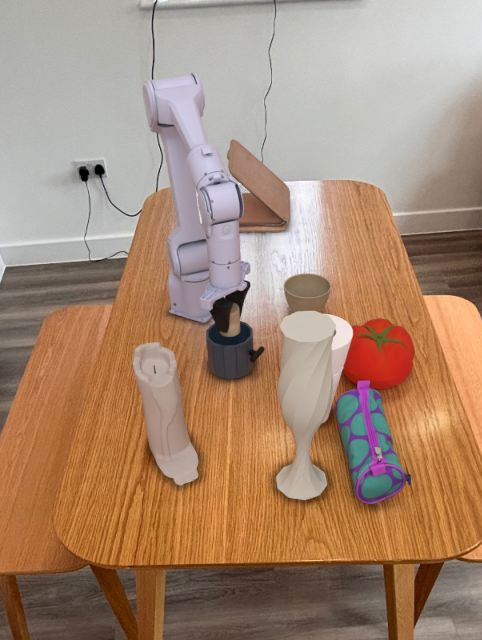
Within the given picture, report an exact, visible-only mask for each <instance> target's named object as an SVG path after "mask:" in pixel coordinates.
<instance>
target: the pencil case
mask: <svg viewBox="0 0 482 640" xmlns="http://www.w3.org/2000/svg"><path fill="white" fill-rule="evenodd" d="M369 386H370V381H358V385H357V388H355V389H349V390H347V391H344V392H343V393H341V395H340V396H339V397H338V398H337V399H336V401H335V405H334V414H335V417H336V420H337V426H338V430H339V434H340V437H341V440H342V445H343V448H344V451H345V455H346V459H347V462H348V468H349V473H350V477H351V480H352V483H353V491H354V495H355V497H356V498H357V499H358V500H359V501H360V502H361V503H364V504H367V505H375V504H378V503H380V502H381V503H382V502H384V501H386V500H389V499H390V498H392V497H394V496H396V495H397V494H399V493H400V492H401V491H402V490H403V489H404V487H405V485H406V483H407V485H408V486H409V487H411V484H412V474H411V473H409V472H407V473H406V472H405V470H404V468H403V466H402V464H401V462H400V459H399V456H398V454H397V453H396V451H395V448H394V443H393V438H392V437H393V436H392V432H391V429H390V427H389V423H388V420H387V416H386V413H385V410H384V406H383V397H382V395H381V393H380V392H379V391H378V389H372V388H370V387H369Z"/></svg>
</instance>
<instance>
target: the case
mask: <svg viewBox="0 0 482 640" xmlns="http://www.w3.org/2000/svg"><path fill="white" fill-rule="evenodd" d="M226 159H227V161H228V162H227V168H228V171H229V173H230V176H232V177H233V179H234V180H236V181H237V182H238V184H240V185H241V186H243V188H245V189H246V190H247V191H248V192H241V193H242V197H243V203H244V214H243V217H242V218H238V220H239V233H247V232H249V233H250V232H254V233H258V232H259V233H261V232H265V233H266V232H269V233H270V232H283V231H285V230H286V229H287V228H288V226H289V225H288V223H289V222H290V220H291V191H290V189H289V187H288V185H287V184H286V183H285V182H284V181H283V180H282V179H281V178H280V177H279V176H278V175H276V174H275V173H274V172H273V171H272V170H271V169H270V168H268V167H267V166H266V165H265V164H264V163H263V162H262V161H261V160H260V159H258V157H256V156H255V155H254V154H253V153H252V152H251V151H250V150H248V148H246V147H245V146H244V145H243V144H242V143H240V142H239V141H238V140H236V139H231V140H230V142H229V148H228V150H227V153H226Z"/></svg>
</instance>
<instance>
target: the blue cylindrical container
mask: <svg viewBox="0 0 482 640" xmlns="http://www.w3.org/2000/svg"><path fill="white" fill-rule="evenodd" d="M205 333H206V334H205V342H206V352H207V362H208V368H209V370H210V372H211V373H212V374H213V375H214V376H216V377H218V378H221V379H226V380H235V379H240V378H243V377H245V376H247V375H249V374H250V373H251V372H252V371H253V370H254V366H255V362H256V361H257V360H258V359H259V358H260V357H261V355H262V354H263V353H265V348H264V346H259V347H258V348H257V349H256V350H255V349H254V329H253V327H252V326H251V325H249V324H248V323H247V322H245V321H243V320H240V333H239V334H238V335H236V336H233V337H226V336H223V335H221V334H220V331H218V330H217V327H216V325H215V322H214V323H212V324H211V325H210V326H209V327H208V328H207V329H206V330H205Z"/></svg>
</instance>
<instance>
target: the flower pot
mask: <svg viewBox="0 0 482 640" xmlns="http://www.w3.org/2000/svg"><path fill="white" fill-rule="evenodd" d="M283 291H284V292H283V293H284V297H285V301H286V303H287V305H288V308H289V309H290V311H291V314H293V313H295V312H297V311H316V312H319V313H322V312H323V311H324V309H325V307H326V305H327V302H328V300H329V297H330V293H331V291H332V283H331V281H330V280H329V279H328V278H327V277H325V276H324V275H320V274H317V273H308V272H304V273H303V272H302V273H298V274H297V273H296V274H294V275H292V276H290V277H288V278H287V279H285V281H284V283H283Z"/></svg>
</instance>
